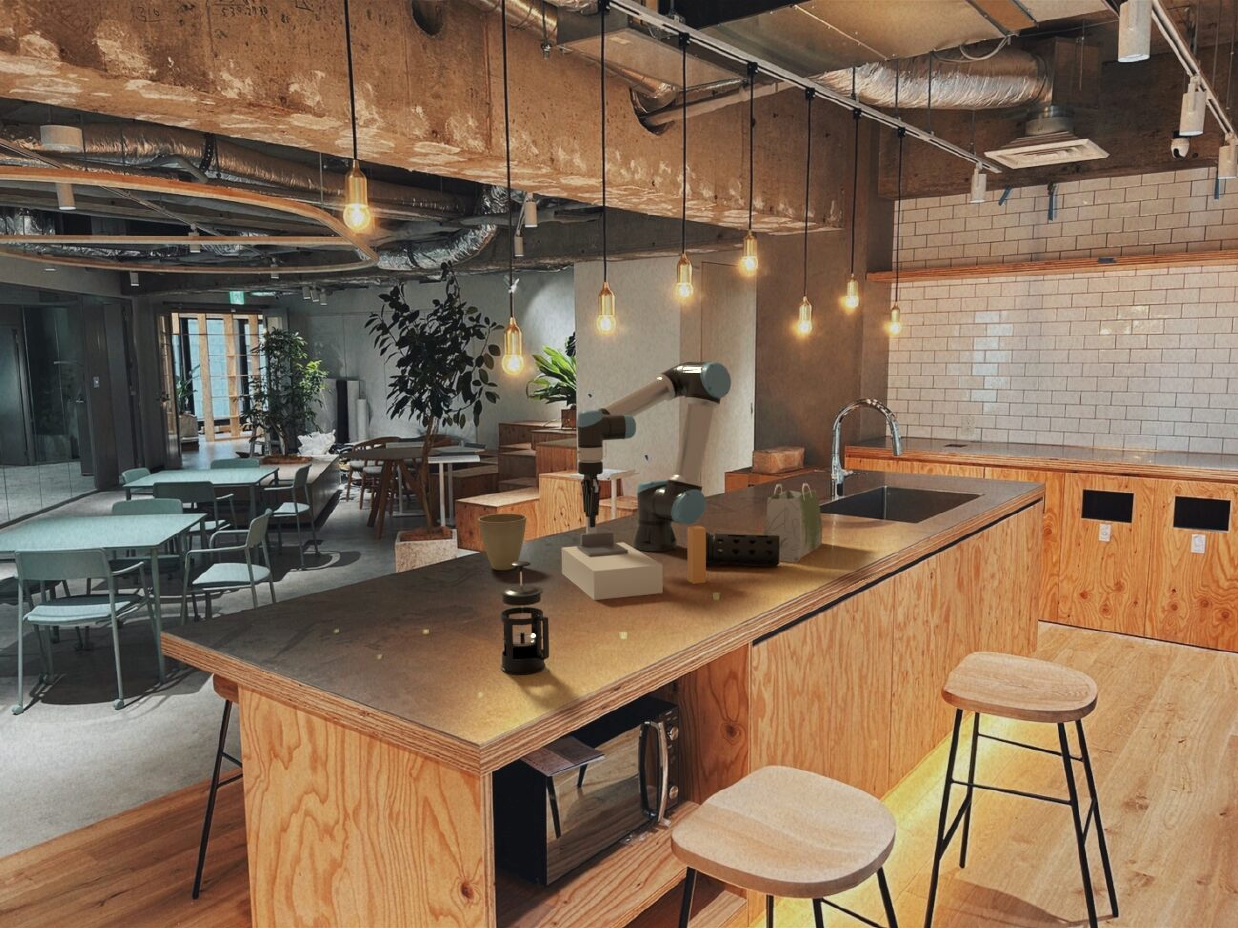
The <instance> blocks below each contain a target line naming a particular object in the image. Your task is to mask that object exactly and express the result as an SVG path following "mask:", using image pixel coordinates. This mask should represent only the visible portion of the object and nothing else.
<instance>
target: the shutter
mask: <svg viewBox="0 0 1238 928" xmlns="http://www.w3.org/2000/svg"><path fill="white" fill-rule="evenodd" d="M617 543H618V542H616V541H615V542H614V532H613V531H612V530H611V531H600V532H597V531H596V533H586V532H585V533H579V545H576V546H577V548H578V549H579V550H581V551H582V552H583V553H585V554H586V555H588V556H598V555H610V554H621V553H628V550H627V549H625V548H623V547H622V546H620V545H618V544H617Z"/></svg>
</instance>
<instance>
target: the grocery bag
mask: <svg viewBox="0 0 1238 928" xmlns="http://www.w3.org/2000/svg"><path fill="white" fill-rule="evenodd" d="M779 487H780V493H779V494H776V493H777V490H778V488H779ZM805 487H807V488H808V490H807V491H805V490H804V489H805ZM801 490H802V491H801V492H800V491H795V490H786V491H783V485H782V483H777V484H776V485H775V488H774V494H773V495H772V496H770V497H768V498H767V501H766V519H765V524H764V530H763V534H762V535H779V537H780V548H779V562H788V563H798V562H799V561H800V559H801V558H803V557H805V556H806V555H808V554H810V553H812V552H813V551H815V550H817V549H819V547H820V546H821V545H822V543H823V541H822V540H823V523H822V516H821V507H820V503H819V502H820V501H819V497H818V494H817V489H812V490H811V488H810V485H809V484H808V483H807V482H804V483H803V484H802V489H801Z"/></svg>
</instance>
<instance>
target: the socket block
mask: <svg viewBox="0 0 1238 928" xmlns="http://www.w3.org/2000/svg"><path fill="white" fill-rule="evenodd" d="M616 543H617V544H618V545H620V546H622V547H623V548H625V549H627V550H628V553H621V554H610V555H598V556H588V555H586V554H585V553H583V552H582V551H581V550H579V549H578V548H577V545H576V546H565V547H561V573H562V575H564V577H566V578H567V579H568V580H570V582H572V583H573V584H574V585H575V586H576V587H577V588H579V589H580V590H581V591H582V592H584V593H585V594H586V595H587V596H589V597H590V598H591V599H592V600H593V601H597V600H608V599H618V598H626V597H637V596H645V595H654V594H656V595H657V594H663V591H664V590H663V564H662V563H660V562H659V561H657V560H656V559H653V558H651V557H650V556H648V555H646V554H644V553H643V552H641V551H640V550H638V549H635V548H633V546H631V545H629V544H627V543H626V542H624V541H623V542H622V541H621V542H616Z"/></svg>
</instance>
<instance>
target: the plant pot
mask: <svg viewBox="0 0 1238 928" xmlns="http://www.w3.org/2000/svg"><path fill="white" fill-rule="evenodd" d="M477 521H478V524H479V525H478V527H479V530H480V535H481V536H480V537H481V539H482V543H483V547H484V550H485V553H486V555H487V558H488V561H489V563H490V565H491V568H492V569H493V570H497V571H508V570H513V569H515V568H516V566H512V565H511V563H513V562H517V561H519V559H520V555H521V551H522V548H523V543H524V537H525V532H526V524H527V516H526V515H525V514H521V513H506V512H505V513H493V514H487V515H482V516H479V517H478V518H477Z"/></svg>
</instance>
